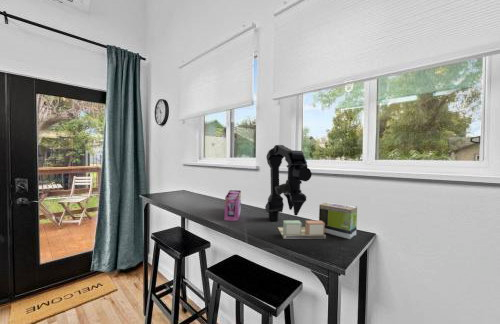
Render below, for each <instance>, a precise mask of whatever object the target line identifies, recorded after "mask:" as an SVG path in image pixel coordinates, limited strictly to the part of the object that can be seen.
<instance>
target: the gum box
mask: <svg viewBox="0 0 500 324" xmlns="http://www.w3.org/2000/svg"><path fill="white" fill-rule="evenodd" d="M241 205H242V190H232V189H231V190H229V191H228V192H227V194H226V195H225V197H224V219H223V220H224V221H228V222H229V221H230V222H231V221H232V222H233V221H234V222H235V221H236V222H237V221H238V220H239V217H240V214H241V208H242V207H241Z"/></svg>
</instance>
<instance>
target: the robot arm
mask: <svg viewBox="0 0 500 324" xmlns="http://www.w3.org/2000/svg"><path fill="white" fill-rule="evenodd" d="M283 159H284V161H286V162H287V165H286V168H287V179H286V180H285V183H281V184H280V166H281V164H282V163H283ZM266 161H267V165H268V166H269V168H270V195H269V196H268V198H267V203H266V205H265V206H264V207H265V208H264V210H265V212H266V213H268V221H270V222H273V223H275V222H277V223H278V221H280V219H279V217H280V213H283V210H284V198H283V197H282V196H281V195H282V194H283V196H284V197H285V198H286V200H287V204H288V209H289V210H290V211H292V210H293V215H294V216H298V214H299V212H300V210H301V209H302V207H303V206H304V203H305V202H307V196H306V194H305V193H303V192H302V190H301V184H302V183H303V182H308V181H309V180H310V179H311V178H312V175H313V173H312V171H311V169H310V168H308V162H307V159H306V157H305V155H304V152H303V151H302V150H292V149H290V148H288V147H286V146H285V145H284V144H275V145H274V146H273V148H271V149H270V150H268V152H267V154H266Z"/></svg>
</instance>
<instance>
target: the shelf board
mask: <svg viewBox="0 0 500 324" xmlns="http://www.w3.org/2000/svg"><path fill="white" fill-rule="evenodd" d="M277 230H278V231H279V232H280V235H281V237H282V238H283V240H284V239H286V240H288V239H290V240H291V239H292V240H293V239H294V240H297V239H298V240H299V239H302V240H304V239H306V240H308V239H309V240H313V239H315V240H316V239H318V240H319V239H320V240H321V239H322V240H323V239H327V235H326V234H324V235H305V226H302V231H301V235H283V226H277Z"/></svg>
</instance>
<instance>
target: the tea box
mask: <svg viewBox="0 0 500 324" xmlns="http://www.w3.org/2000/svg"><path fill="white" fill-rule="evenodd" d="M318 206H319V210H318V212H319V213H318V215H319V216H318V221H322V222H324V223H325V228H324V234H329V235H332V236H336V237H340V238H344V239H348V240H351V239H352V238H353V237H355V236H357V228H358V227H357V221H358V218H357V217H358V206H356V205H350V204H349V205H348V204H345V203H344V204H343V203H336V202H332V201H326V202H323V203H321V204H319V205H318Z"/></svg>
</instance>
